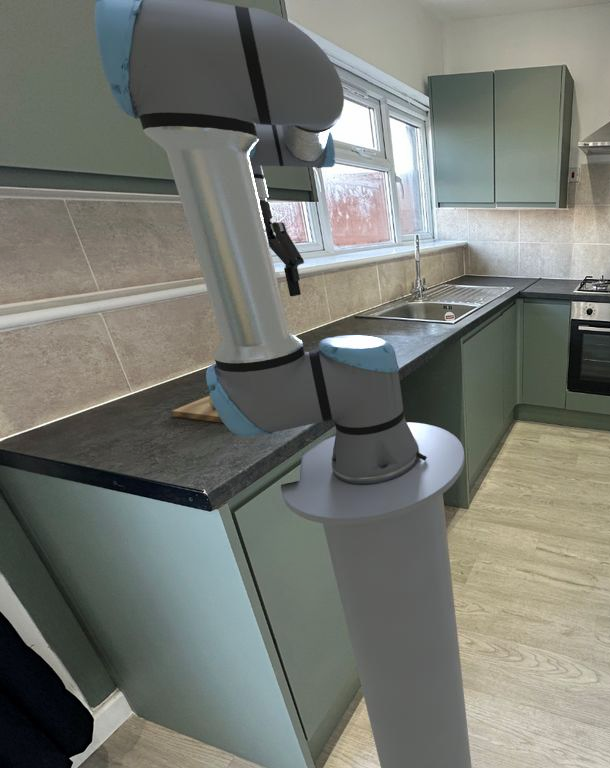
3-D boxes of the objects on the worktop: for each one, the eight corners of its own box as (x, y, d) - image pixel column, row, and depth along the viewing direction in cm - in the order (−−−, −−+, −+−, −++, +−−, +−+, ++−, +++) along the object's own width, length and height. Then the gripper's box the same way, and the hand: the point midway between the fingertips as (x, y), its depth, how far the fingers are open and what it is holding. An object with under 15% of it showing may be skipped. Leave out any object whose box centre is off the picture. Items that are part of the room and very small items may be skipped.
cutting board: (290, 400, 103) (289, 394, 102) (242, 425, 90) (240, 419, 90) (227, 393, 108) (226, 388, 108) (174, 416, 96) (171, 410, 95)
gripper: (308, 198, 94) (325, 293, 102) (223, 203, 101) (245, 291, 108) (282, 197, 87) (303, 298, 95) (193, 202, 94) (219, 296, 102)
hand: (272, 295), depth 102 cm, fingers open, 13 cm apart
